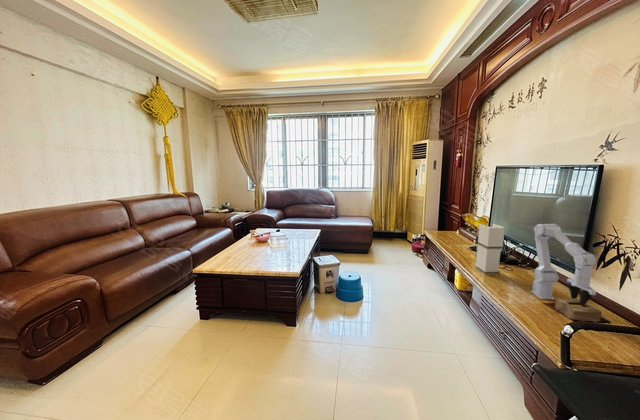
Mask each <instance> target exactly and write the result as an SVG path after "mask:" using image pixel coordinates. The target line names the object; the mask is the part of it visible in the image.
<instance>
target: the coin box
mask: <svg viewBox="0 0 640 420" xmlns="http://www.w3.org/2000/svg"><path fill="white" fill-rule="evenodd" d="M555 299H556V300H555V302H554V309H555V308H556V310H557V311H558V310H559V311H558V312H560V313H561V314H562V313H563V314H562V315H563V316H565V317H567V318H568V319H569V318H571V319H573V320H581V321H580V322H582V321H583V322H584V321H585V322H586V321H593V322H592V323H597V322H596V321H600V322H601V318H602V313H603V312H602V311H601V310H600V309H598V308H596V307H595V306H593V305H591V303H588V302H587V303H586V304H580V298H577V299H572V298H568V297H567V298H564V297H556V298H555ZM570 304H572V305H582V307H573V306H571V305H570ZM571 319H570V320H571ZM585 322H584V323H585ZM586 323H587V322H586Z"/></svg>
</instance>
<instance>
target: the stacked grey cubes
mask: <svg viewBox="0 0 640 420" xmlns="http://www.w3.org/2000/svg"><path fill="white" fill-rule="evenodd" d="M477 237H478V238H477V247H476V248H477V249H476V258H475V259H476V260H475V269H476V270H477V271H479V272H480V273H481V274H483V275H484V276H486V275H487V276H489V275H500V274H501V273H500V272H501V271H499V270H500V268H499V267H500V259H501V252H503V248H504V239H505V238H504V237H505V226H501V225H498V224H496V223H492V226H487V225H484V224H482V223H479V228H478V235H477Z"/></svg>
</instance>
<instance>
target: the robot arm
mask: <svg viewBox="0 0 640 420" xmlns="http://www.w3.org/2000/svg"><path fill="white" fill-rule="evenodd" d="M533 231H534V241H535V247H536V254H537V259H538V260H537V261H538V266H537V267H536V268H535V269H534V280H533V282H532V289H531V290H530V292H531V293H532V294H533V295H535V296H537V298H539V299H540V300H555V301H556V298H555V297H554V296H553V293H554V285H555V284H556V283H557V282H558V281H559V277H560V276H559V275H558V272H557V269H555V268H554V267H553V266H552V263H551V257H550V256H551V255H550V249H549V244H548V240H549V239H550V238H551V237H552V238H555V239H556V240H557V241H558V242H560V243H561V245H563V246H564V250H565V251H566V252H567V253H568V254H569V255H570V256H572V257H573V262H574V264H575V265H574V266H575V272H574V277H573V278H567V279H566V280H567V281H566V282H567V283H568V284H567V285H566V286H567V288H568V289H569V293H570V297H571V298H570V299H578V296H579V299H580V304H586V303H588V302H589V300H590V299H591V298H592V297H594V296H596V295H597V291H595V289H593V288H592V287H591V286H590V283H591V278H592V273H593V268H594V266H595V265H597V263H598V258H597V257H596V255H594V254H593V253H590V252H588V251H586V250H585V249H584V248H582V246H580V244H579V243H577V242H572V241H571V240H570V239H569V238H568V237H567V235H566V234H564V232H563V231H562V228H561V227H560V226H559V225H558V224H556V223H539V224H536V225H535V226H534V228H533Z"/></svg>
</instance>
